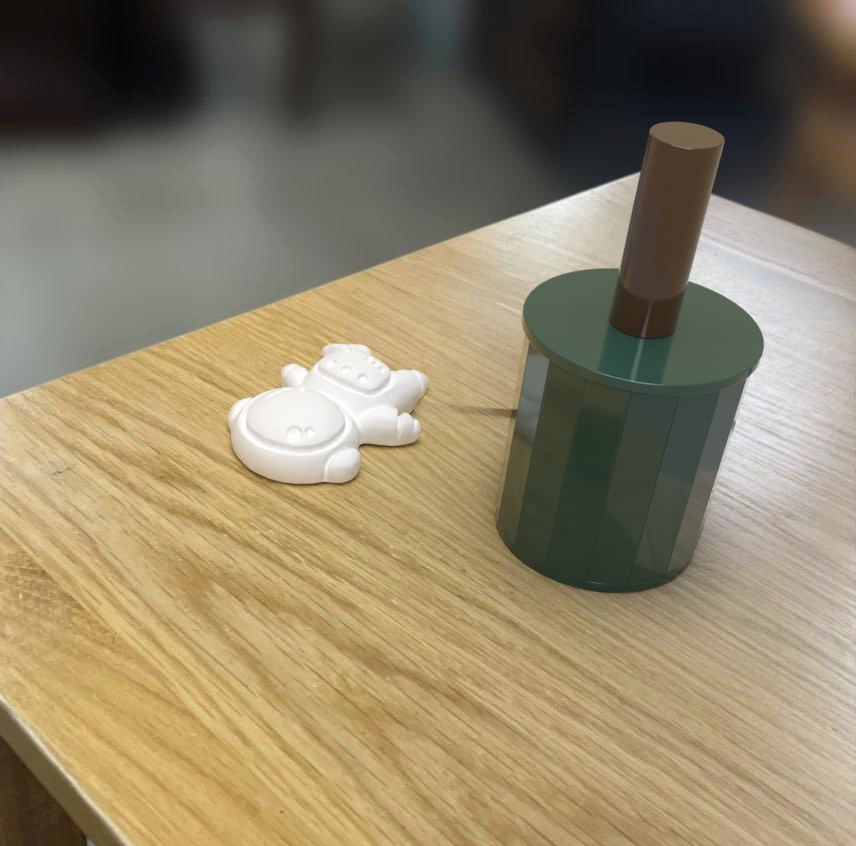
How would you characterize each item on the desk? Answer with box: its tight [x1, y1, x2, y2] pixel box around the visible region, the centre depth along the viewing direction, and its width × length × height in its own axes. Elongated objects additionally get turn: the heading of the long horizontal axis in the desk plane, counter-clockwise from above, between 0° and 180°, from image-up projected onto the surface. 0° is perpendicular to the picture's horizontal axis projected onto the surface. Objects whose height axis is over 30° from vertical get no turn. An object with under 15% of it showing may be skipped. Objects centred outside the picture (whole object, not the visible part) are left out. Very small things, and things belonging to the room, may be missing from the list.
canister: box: [495, 333, 752, 593], centre depth 55 cm, size 9×9×10 cm
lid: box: [521, 121, 765, 396], centre depth 49 cm, size 10×10×9 cm
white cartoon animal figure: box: [227, 342, 430, 485], centre depth 63 cm, size 9×12×3 cm
